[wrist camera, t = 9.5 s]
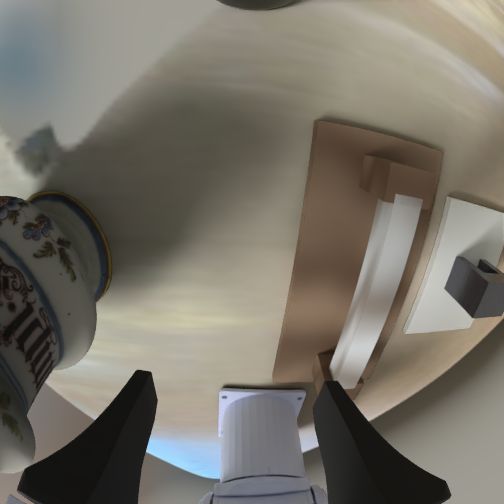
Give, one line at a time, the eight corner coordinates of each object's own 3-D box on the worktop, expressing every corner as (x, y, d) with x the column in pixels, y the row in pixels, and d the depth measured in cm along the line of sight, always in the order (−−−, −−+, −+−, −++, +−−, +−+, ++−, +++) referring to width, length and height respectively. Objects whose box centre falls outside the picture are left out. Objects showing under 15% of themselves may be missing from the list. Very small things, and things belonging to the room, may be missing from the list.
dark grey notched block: (474, 289, 20) (501, 315, 16) (443, 288, 20) (472, 318, 16) (485, 259, 19) (516, 283, 15) (456, 255, 18) (488, 282, 14)
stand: (365, 371, 24) (380, 405, 20) (272, 373, 23) (276, 414, 19) (435, 150, 16) (476, 160, 12) (314, 120, 15) (337, 118, 11)
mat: (466, 324, 23) (469, 327, 22) (402, 329, 22) (405, 334, 21) (507, 214, 18) (512, 216, 17) (446, 195, 17) (451, 198, 17)
